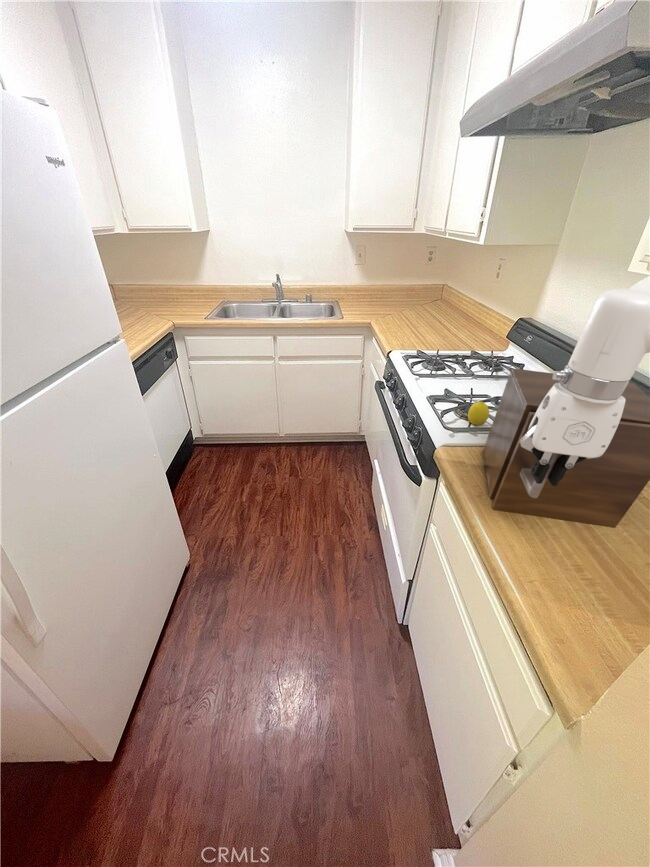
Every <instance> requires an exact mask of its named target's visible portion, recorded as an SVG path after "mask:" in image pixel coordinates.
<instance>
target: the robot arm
mask: <svg viewBox="0 0 650 867" xmlns="http://www.w3.org/2000/svg"><path fill="white" fill-rule="evenodd" d="M646 354H650V275H648V276H646V277H644V278H643V279H640V280H639V281H638V282H636V283H635V284H633V285H632V286H631V287H629V288H613V289H608V290H606V291H604V292H602V293H601V294H600V295H599V296H597V299H596V301H595V303H594V304H593V307H592V309H591V311H590V313H589V315H588V317H587V320H586V322H585V324H584V327H583V329H582V331H581V333H580V336H579V338H578V340H577V342H576V345H575V346H574V349H573V351H572V354H571V355H570V359H569V360H568V362H567V364H565V365H564V369H563V370H560V371H559V370H555V371H554V372H552V373H553V377H552V378H553V380H558V381H559V382H560V383H555V384H554V385H553V387H552V388H551V389H550V390H549V392H548V393H547V395H546V396H545V398H544V399H543V401H542V402H541V404H540V406H539V407H538V409H537V411H536V413H535V415H534V417H533V419H532V421H531V423H530V426H529V428H528V432H527V433H526V434H525V435H524V436H523V437H522V438H521V439H520V440H519V443H520V445H521V447H523V448H525V449H527V450H529V451H531V452H533V453H534V455H535V456H536V457H537V458H536V460H535V462H534V464H533V466H532V469H531V474H532V476H533V477H534V479H535V481H536V483H537V484H541V483H542V482H543V480H544V478H545V476H546V474H547V472H548V470H549V468H550V466H549V464H548V462H549V460H550V458H551V455H552V453H557V454H560V455H559V457H558V458H557V460H556V462H555V464H554V466H553V468H552V470H551V472H550V474H549V476H548V479H549V481H550V483H551V485H552V486H557V484H558V483H559V481H560V480H561V479H562V478H563V476H564V474H565V472H566V471H567V469H568V468H572V467H573V466H574V464H575V463H578V462H580V461H583V460H585V459H586V458H587V459H591V458H598V457H601V456H602V455H603V454H604V452H605V451H606V449H607V447H608V446H609V444H610V442H611V440H612V438H613V436H614V434H615V431H616V429H617V427H618V424H619V422H620V419H621V416H622V413H623V409H624V405H625V401H626V399H625V398H624V397H623V396H621V395H622V393H623V392H624V390H625V388H626V386H627V385H628V383H630V381H631V380H632V377H633V376H634V374H635V372H636V370H637V369H638V367H639V365H640V363H641V361H642V360H643V358H644V356H645V355H646Z"/></svg>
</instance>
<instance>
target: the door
mask: <svg viewBox="0 0 650 867" xmlns="http://www.w3.org/2000/svg"><path fill="white" fill-rule="evenodd" d="M535 413H536V412H530V413H529V415H528V417H527V420H526V422H525V425H524V427H523V430H522V432H521V435H520V437H519V440H520V439H521V438H522V437H523V436H524V435H525V434H526V433H527V432H528V428H529V426H530V423H531V421H532V419H533V417H534V415H535ZM519 440H518V442H517V445H516V447H515V449H514V452H513V454H512V457H511V459H510V462H509V464H508V467H507V469H506V472H505V474H504V477H503V479H502V481H501V484H500V486H499V489H498V491H497V494H496V496H495V499H494V500H493V502H492V504H491V510H493V511H499V512H506V513H513V514H519V515H526V516H533V517H540V518H547V519H553V520H560V521H568V522H572V523H573V522H574V523H581V524H588V525H593V526H594V525H595V526H601V527H607V528H615V529H616V528H617V526H618V525H619V524H620V522H621V521H622V519H623V518H624V517H625V515H626V514H627V513H628V511H629V510H630V508H631V507H632V505H633V504H634V502H635V501H636V500H637V499H638V497H639V496H640V494H641V493H642V491H643V490H644V489H645V487H646V486H647V485H648V483H649V482H650V425H648V424H639V423H630V422H619V424H618V427H617V429H616V431H615V434H614V436H613V438H612V440H611V442H610V444H609V446H608V447H607V449H606V451H605V452H604V454H603V455H602V456H601V457H598V458H591V459H587V458H586V459H585V460H583V461H580V462H578V463H575V464H574V466H573V467H572V468H568V469H567V471H566V472H565V474H564V476H563V478H562V479H561V480H560V481H559V483H558V484H557V486H552V485H551V483H550V481H549V479H548V476H549V474H550V472H551V470H552V468H553V466H554V464H555V462H556V460H557V458H558V457H559V455H560V454H557V453H552V455H551V458H550V460H549V462H548V464H549V466H550V468H549V470H548V472H547V474H546V476H545V478H544V480H543V482H542V483H541V484H537V483H536V481H535V479H534V477H533V476H532V474H531V469H532V466H533V464H534V462H535V460H536V458H537V457H536V456H535V455H534V453H533V452H531V451H529V450H527V449H525V448H523V447H521V445H520V443H519Z"/></svg>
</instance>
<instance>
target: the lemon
mask: <svg viewBox="0 0 650 867" xmlns="http://www.w3.org/2000/svg"><path fill="white" fill-rule="evenodd" d="M489 415H490V409H489V405H487V404H486V403H485V402H483V401H476V402H475V403H472V405H470V407H469V409H468V412H467V419H468V421H469V423H470V424H471V425H475V426H481V425H483V424H486V422H487V421H488V418H489Z"/></svg>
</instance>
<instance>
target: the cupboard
mask: <svg viewBox="0 0 650 867" xmlns="http://www.w3.org/2000/svg"><path fill="white" fill-rule="evenodd" d="M510 369H511V370H510V372H509V375H508V377H507V380H506V384H505V387H504V389H503V392H502V396H501V398H500V401H499V404H498V407H497V410H496V412H495V416H494V417H493V422H492V424H491V426H490V429H489V433H488V436H487V438H486V442H485V445H484V448H483V453H484V458H485V464H484V465H483V466H484V471H485V477H486V484H487V491H488V496H489V499H490V500H493V501H494V499H495V496H496V494H497V491H498V489H499V486H500V484H501V481H502V479H503V477H504V474H505V472H506V469H507V467H508V464H509V462H510V459H511V457H512V454H513V452H514V449H515V447H516V445H517V442H518V440H519V437H520V435H521V432H522V430H523V427H524V425H525V422H526V420H527V417H528V415H529V413H530V412H536V411H537V409H538V407H539V406H540V404H541V402H542V401H543V399H544V398H545V396H546V395H547V393H548V392H549V390H550V389H551V388H552V387H553V385H554V384H555V383H560V382H559V381H558V380H553V378H552V377H553V373H554V372H546V371H545V372H544V371H538V370H529V369H521V368H510ZM621 396H623V397H624V398H625V399H626V401H625V405H624V409H623V413H622V416H621V419H620V422H630V423H639V424H648V425H650V396H648V395H647V394H646V393H645V392H644V391H643V390H642V389H641V388H640V387H639V386H637V385H636V384H635V383H634V382H629V383H628V385H627V386H626V388H625V390H624V392H623V393H622V395H621Z"/></svg>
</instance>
